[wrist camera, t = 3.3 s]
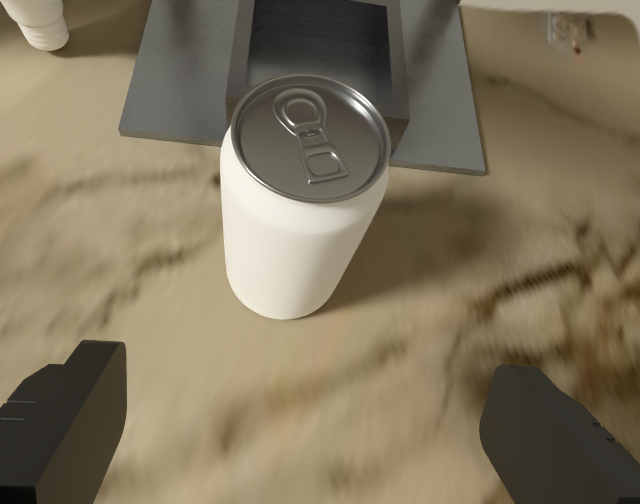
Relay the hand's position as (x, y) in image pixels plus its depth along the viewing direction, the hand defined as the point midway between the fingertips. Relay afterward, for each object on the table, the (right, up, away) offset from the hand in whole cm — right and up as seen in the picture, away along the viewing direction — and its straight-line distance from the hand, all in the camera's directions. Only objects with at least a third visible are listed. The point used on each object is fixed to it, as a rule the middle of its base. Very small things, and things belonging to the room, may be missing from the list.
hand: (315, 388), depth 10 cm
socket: (0, +18, +25) cm, 31 cm away
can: (-2, +2, +17) cm, 17 cm away
